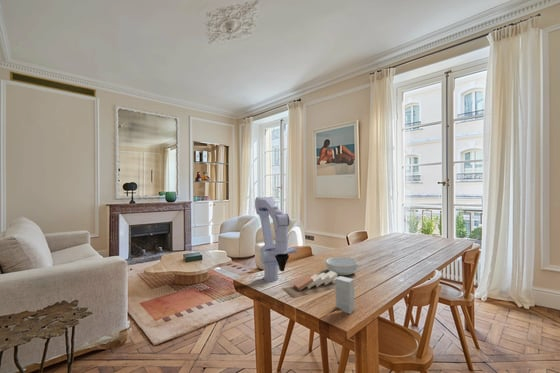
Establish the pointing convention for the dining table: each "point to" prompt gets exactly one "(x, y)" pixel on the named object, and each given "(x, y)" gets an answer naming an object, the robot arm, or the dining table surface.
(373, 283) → the dining table surface
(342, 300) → the skincare box
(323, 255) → the dining table surface
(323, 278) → the domino
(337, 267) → the cereal bowl
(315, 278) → the domino
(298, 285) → the terracotta domino
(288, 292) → the board
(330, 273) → the domino
